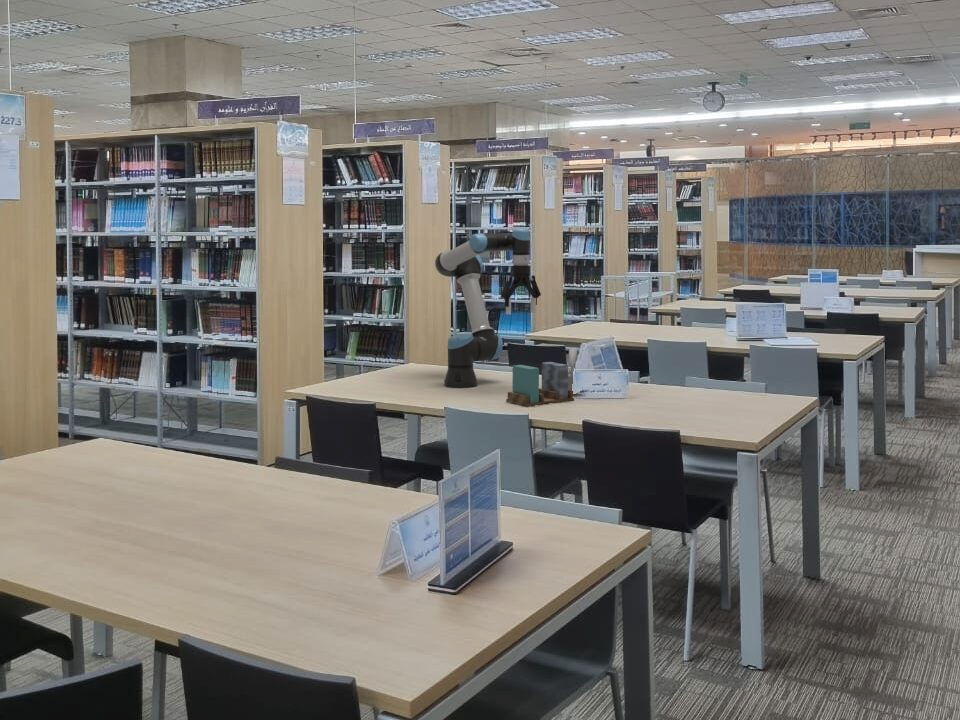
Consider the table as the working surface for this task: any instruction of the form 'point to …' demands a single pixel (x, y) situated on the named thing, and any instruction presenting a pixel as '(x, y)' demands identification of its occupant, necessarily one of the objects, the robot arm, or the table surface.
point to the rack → (548, 387)
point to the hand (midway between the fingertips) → (520, 313)
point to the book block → (526, 382)
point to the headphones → (572, 360)
